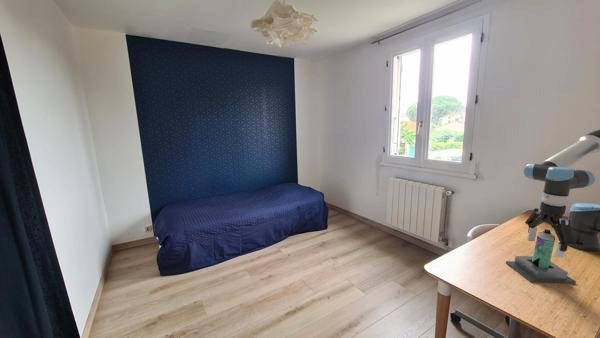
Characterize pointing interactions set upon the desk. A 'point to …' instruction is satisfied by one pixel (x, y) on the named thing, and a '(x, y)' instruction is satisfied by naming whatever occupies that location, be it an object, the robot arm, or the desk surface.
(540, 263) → the spray can
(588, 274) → the desk surface
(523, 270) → the collar
